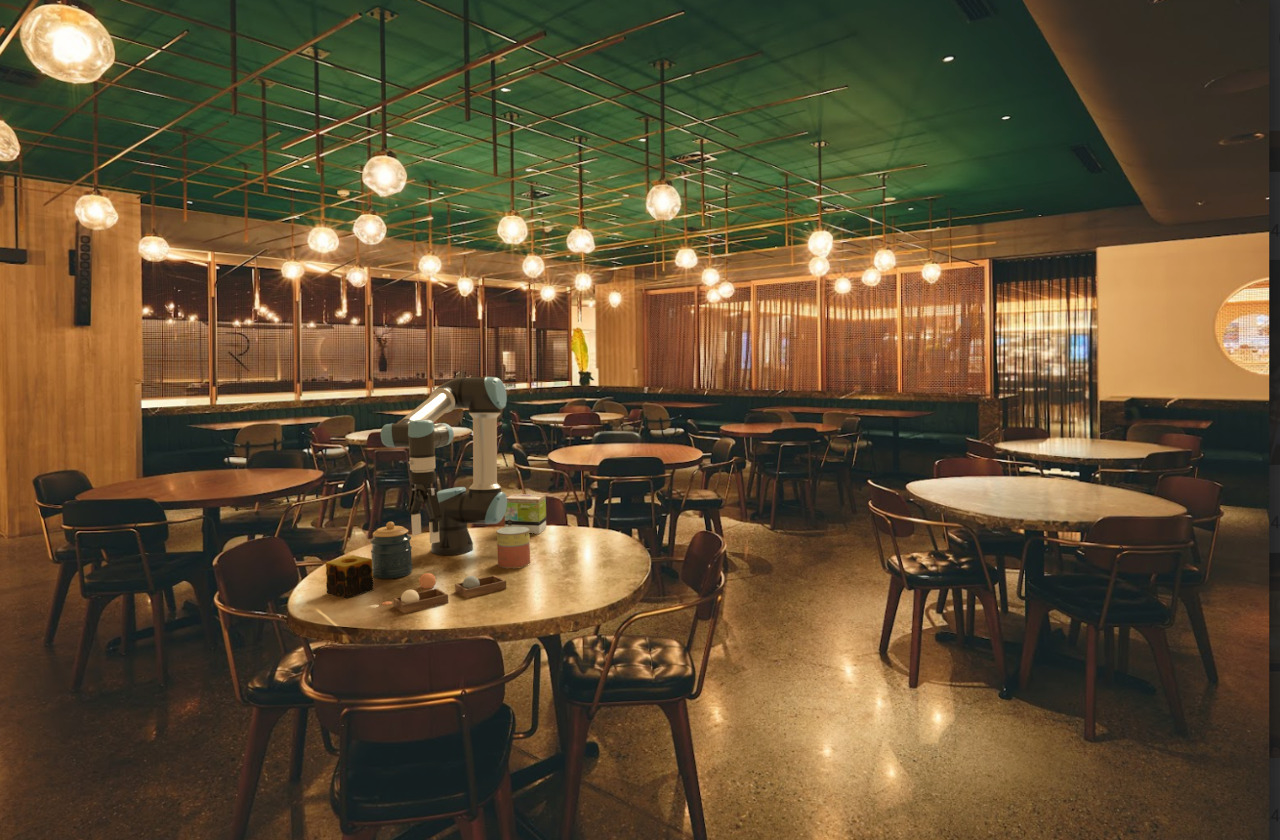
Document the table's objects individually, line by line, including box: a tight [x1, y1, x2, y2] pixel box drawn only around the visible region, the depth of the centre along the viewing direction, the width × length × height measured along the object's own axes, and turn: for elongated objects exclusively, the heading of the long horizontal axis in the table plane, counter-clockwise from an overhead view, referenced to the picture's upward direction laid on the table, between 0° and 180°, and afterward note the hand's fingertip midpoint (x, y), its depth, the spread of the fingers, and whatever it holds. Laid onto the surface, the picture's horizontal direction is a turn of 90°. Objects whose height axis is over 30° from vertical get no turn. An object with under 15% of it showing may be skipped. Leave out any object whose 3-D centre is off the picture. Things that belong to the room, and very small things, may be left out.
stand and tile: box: [367, 601, 393, 609], centre depth 214 cm, size 14×24×1 cm, turn 130°
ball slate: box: [462, 575, 480, 589], centre depth 216 cm, size 5×5×5 cm
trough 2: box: [454, 574, 507, 599], centre depth 218 cm, size 8×13×3 cm, turn 130°
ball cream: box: [400, 589, 419, 604], centre depth 204 cm, size 5×5×5 cm
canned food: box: [496, 526, 531, 569], centre depth 248 cm, size 11×11×12 cm
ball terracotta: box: [418, 572, 437, 590], centre depth 222 cm, size 5×5×5 cm
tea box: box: [504, 493, 547, 535], centre depth 296 cm, size 15×10×15 cm
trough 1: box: [392, 588, 449, 614], centre depth 206 cm, size 8×13×3 cm, turn 130°
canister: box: [369, 521, 413, 580], centre depth 239 cm, size 13×13×18 cm
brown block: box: [325, 554, 375, 600], centre depth 220 cm, size 10×10×10 cm
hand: (425, 538), depth 221 cm, fingers open, 13 cm apart
